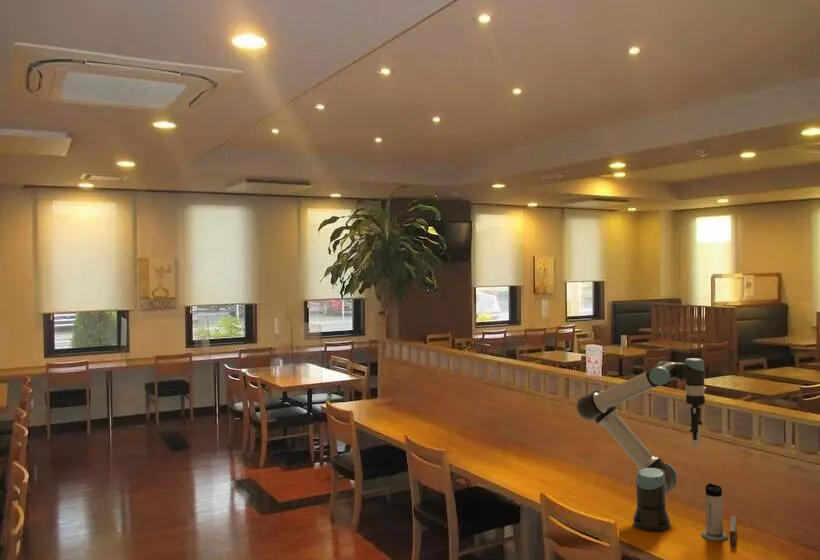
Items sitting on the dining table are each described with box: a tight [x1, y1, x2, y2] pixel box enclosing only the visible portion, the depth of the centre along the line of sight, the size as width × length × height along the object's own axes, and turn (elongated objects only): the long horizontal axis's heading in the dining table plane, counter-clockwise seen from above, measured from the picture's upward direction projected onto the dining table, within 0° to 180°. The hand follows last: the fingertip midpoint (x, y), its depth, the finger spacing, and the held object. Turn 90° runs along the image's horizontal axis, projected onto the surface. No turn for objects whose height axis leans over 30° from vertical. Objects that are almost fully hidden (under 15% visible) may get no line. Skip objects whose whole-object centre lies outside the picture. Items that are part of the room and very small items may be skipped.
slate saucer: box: [700, 529, 729, 542], centre depth 285 cm, size 10×10×1 cm
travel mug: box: [705, 483, 724, 537], centre depth 285 cm, size 6×7×20 cm
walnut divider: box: [729, 515, 737, 547], centre depth 283 cm, size 2×18×6 cm, turn 154°
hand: (696, 443), depth 299 cm, fingers open, 13 cm apart
